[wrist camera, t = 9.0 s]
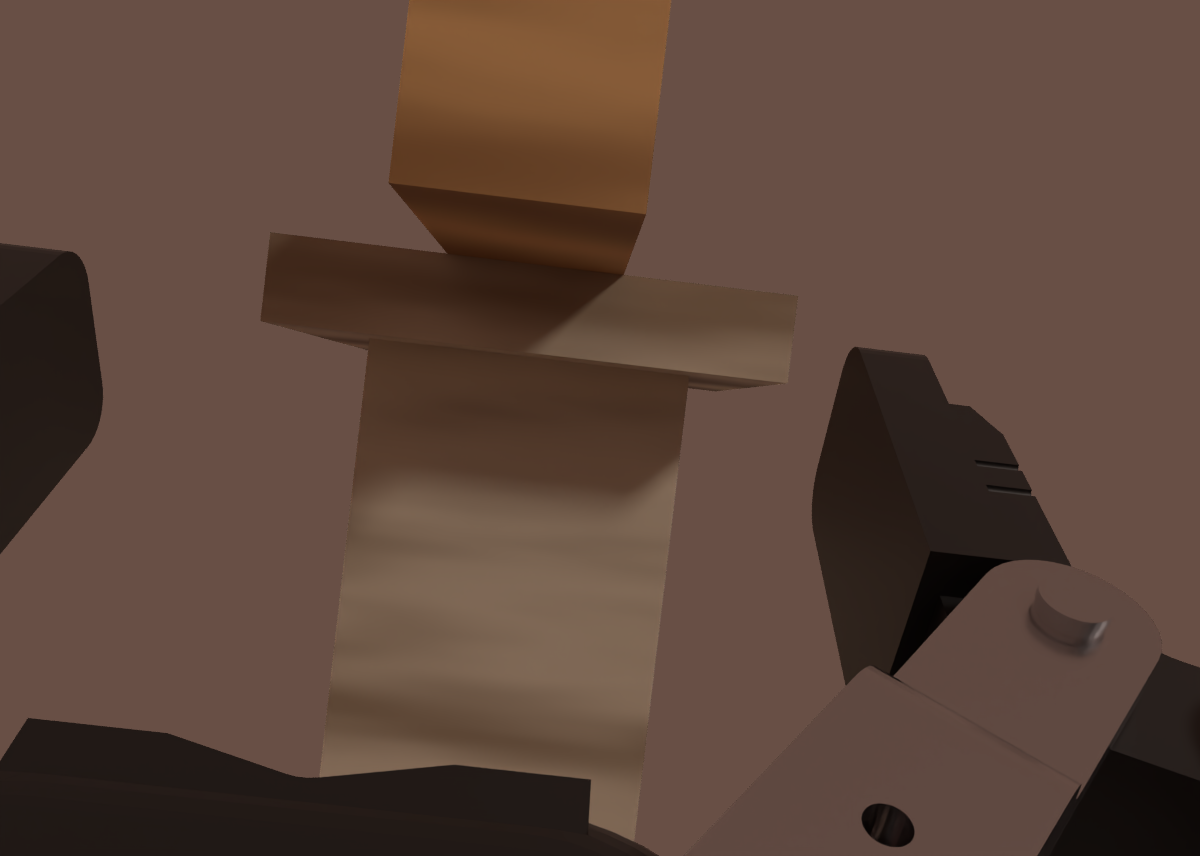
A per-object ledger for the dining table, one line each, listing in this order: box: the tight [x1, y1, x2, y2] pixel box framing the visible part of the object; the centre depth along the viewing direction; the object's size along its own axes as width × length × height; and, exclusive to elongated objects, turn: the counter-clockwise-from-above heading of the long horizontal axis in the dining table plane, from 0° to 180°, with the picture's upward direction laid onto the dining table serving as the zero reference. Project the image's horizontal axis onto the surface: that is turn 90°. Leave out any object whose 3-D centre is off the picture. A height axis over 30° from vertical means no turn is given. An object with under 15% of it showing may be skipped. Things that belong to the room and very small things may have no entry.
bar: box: [389, 0, 671, 275], centre depth 27 cm, size 20×4×4 cm, turn 1°
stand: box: [261, 233, 798, 841], centre depth 32 cm, size 14×14×32 cm
